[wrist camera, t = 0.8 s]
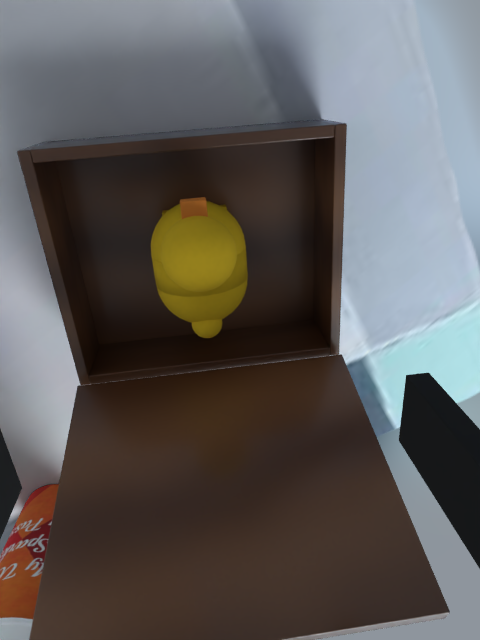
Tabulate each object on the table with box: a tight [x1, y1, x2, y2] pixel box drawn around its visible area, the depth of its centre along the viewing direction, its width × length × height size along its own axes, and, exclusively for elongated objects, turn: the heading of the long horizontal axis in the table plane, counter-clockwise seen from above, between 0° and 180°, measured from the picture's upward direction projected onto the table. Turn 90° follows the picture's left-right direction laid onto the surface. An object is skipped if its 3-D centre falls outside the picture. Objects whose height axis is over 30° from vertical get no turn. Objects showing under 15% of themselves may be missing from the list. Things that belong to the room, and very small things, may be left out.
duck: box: [151, 197, 248, 338], centre depth 28 cm, size 9×6×10 cm, turn 4°
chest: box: [17, 119, 347, 385], centre depth 31 cm, size 15×18×5 cm
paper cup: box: [0, 484, 59, 640], centre depth 37 cm, size 8×8×14 cm
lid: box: [29, 355, 450, 640], centre depth 27 cm, size 16×18×5 cm
